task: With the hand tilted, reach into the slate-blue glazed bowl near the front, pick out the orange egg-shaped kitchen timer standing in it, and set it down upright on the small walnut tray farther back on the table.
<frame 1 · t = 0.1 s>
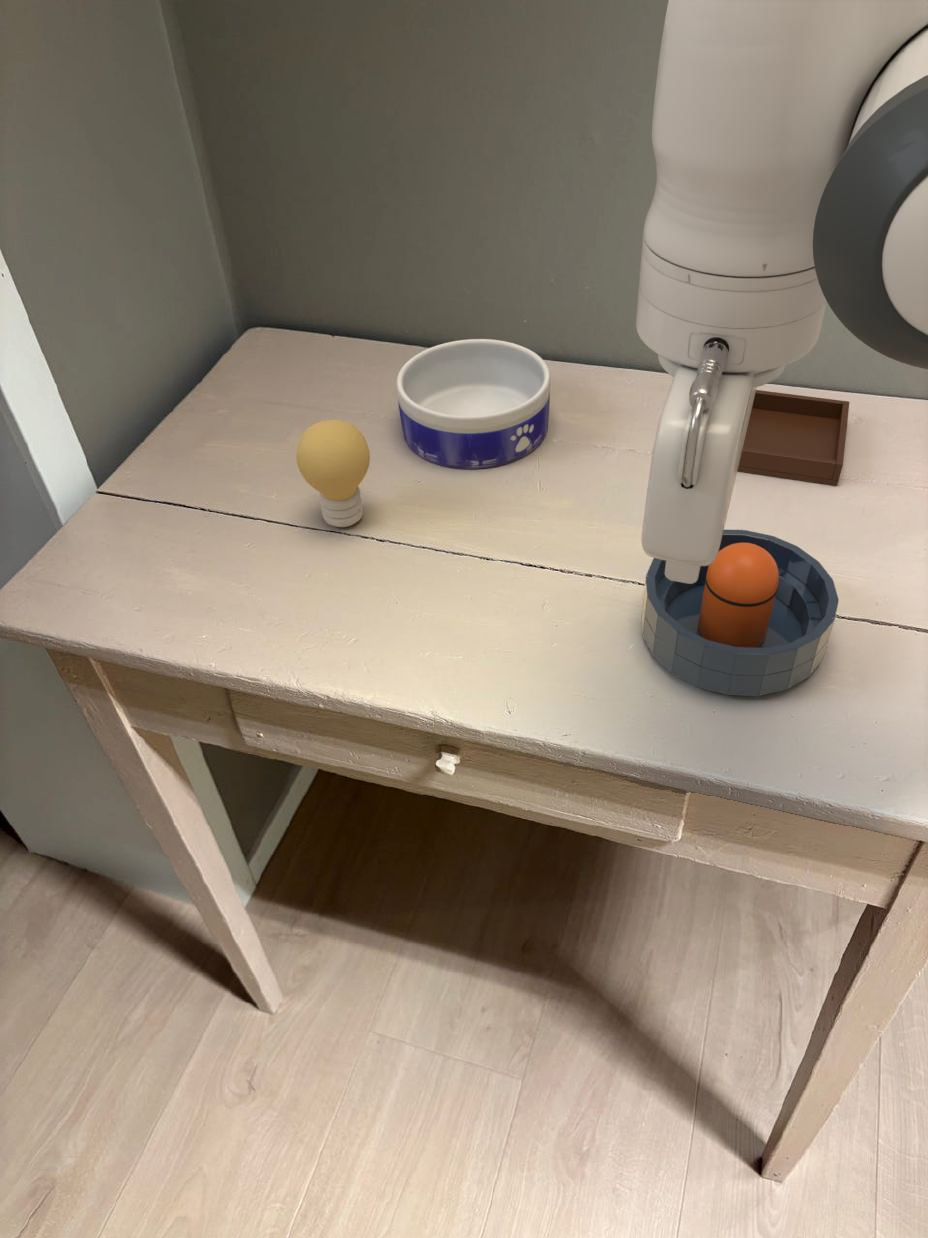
hand: (696, 522, 56), 19 cm above the table, tool pointing down, fingers open, 8 cm apart
tray: (781, 444, 94), on the table
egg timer: (731, 628, 75), point 1 cm above the table, touching glazed bowl
light bulb: (344, 520, 89), on the table
glazed bowl: (730, 634, 76), on the table
dog bowl: (475, 429, 99), on the table
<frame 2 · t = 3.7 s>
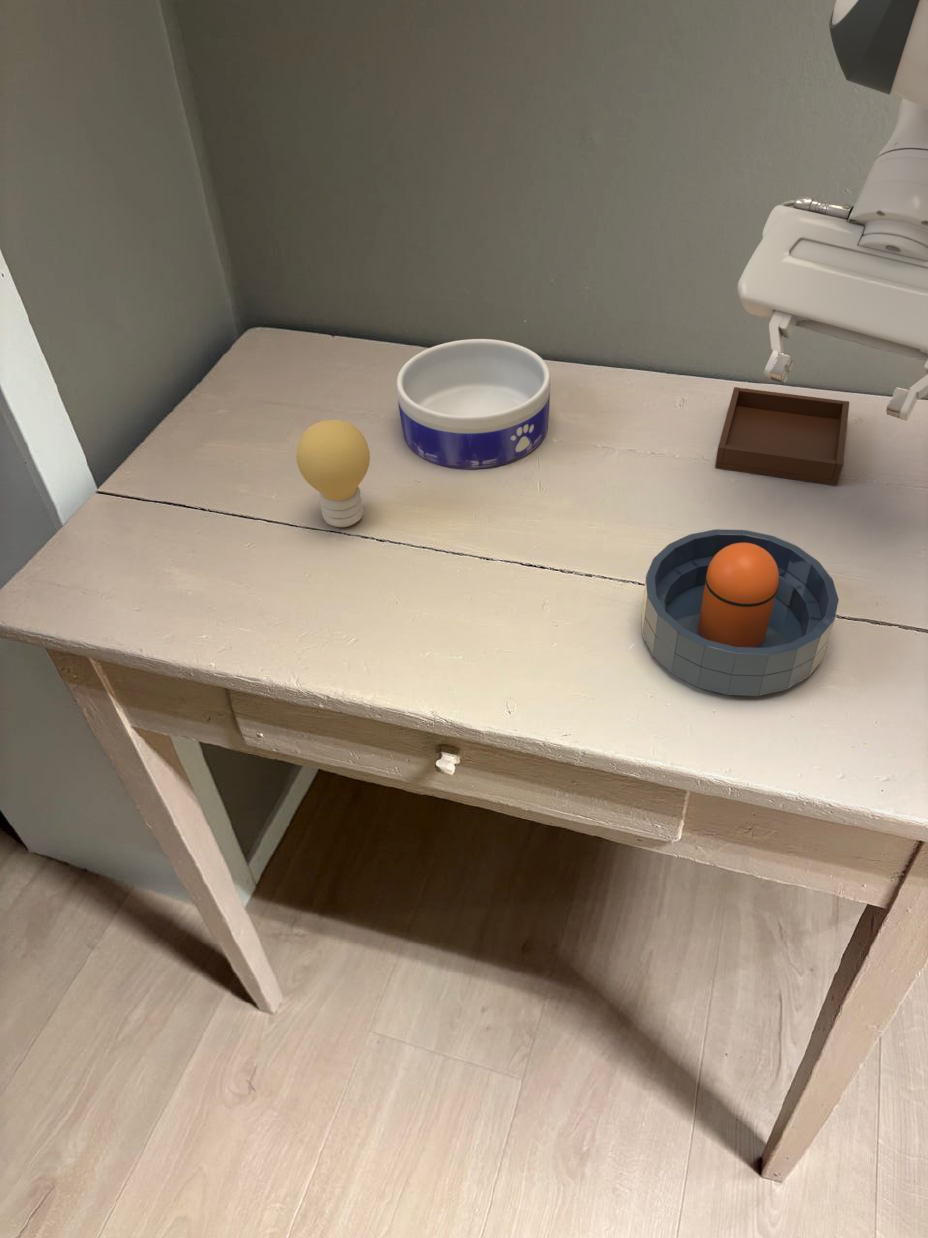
hand: (833, 396, 72), 15 cm above the table, tool tilted 45°, fingers open, 8 cm apart
nothing on the table moved.
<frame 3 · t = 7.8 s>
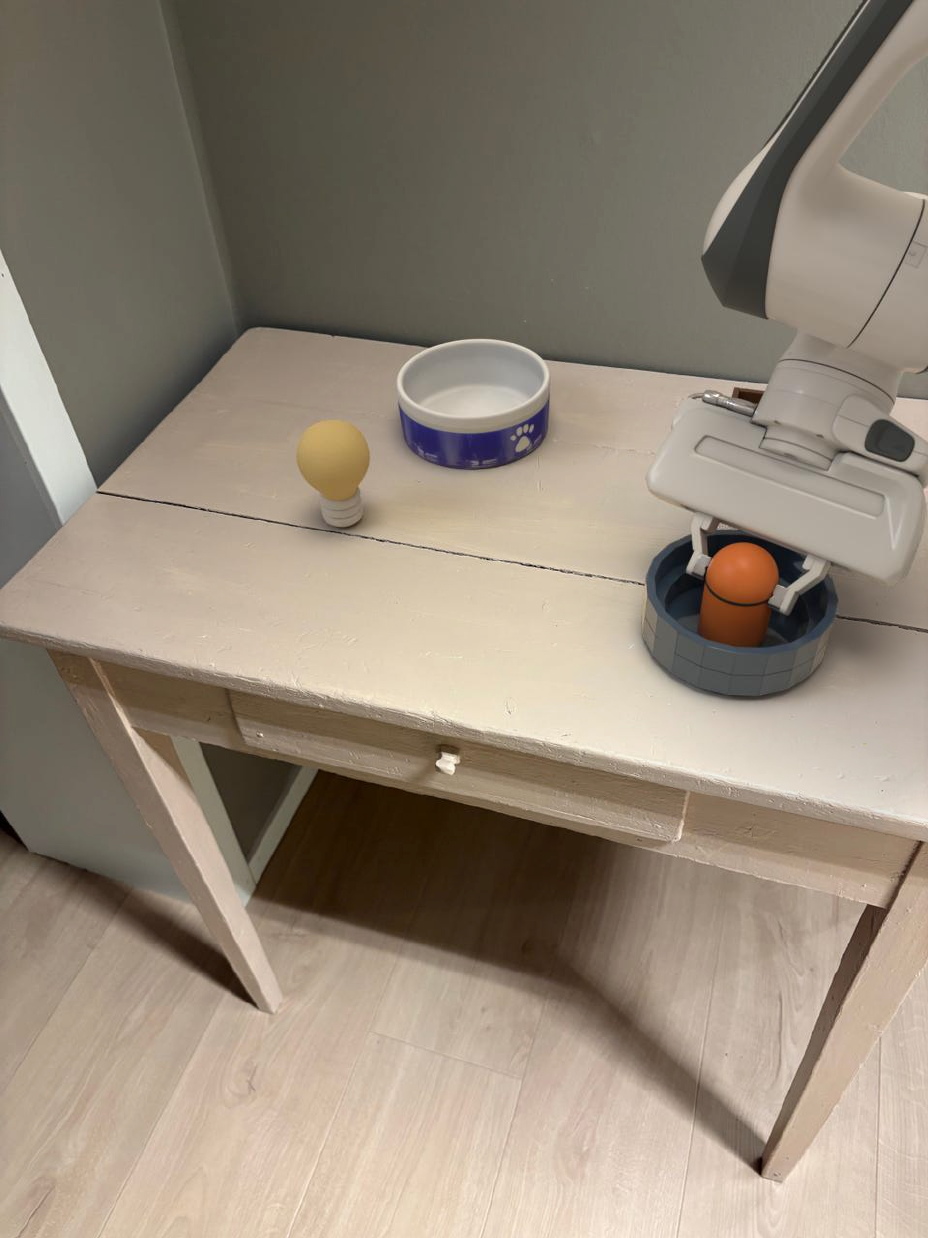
hand: (736, 594, 72), 5 cm above the table, tool tilted 45°, fingers closed on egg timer, 5 cm apart
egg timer: (731, 628, 75), point 1 cm above the table, touching glazed bowl, gripper
everything else where it was.
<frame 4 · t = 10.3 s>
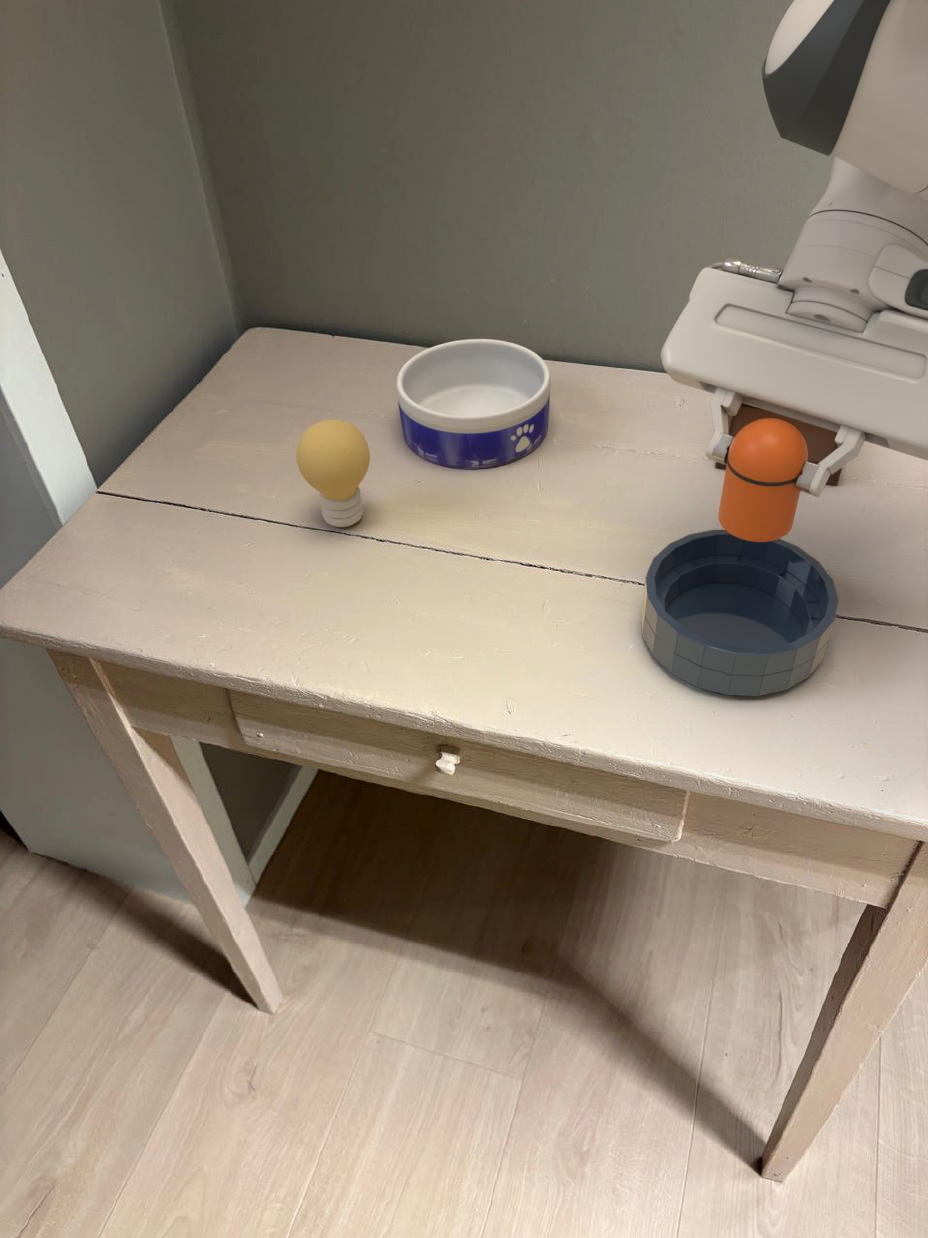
hand: (761, 476, 66), 15 cm above the table, tool tilted 45°, fingers closed on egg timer, 5 cm apart
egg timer: (755, 519, 69), point 11 cm above the table, touching gripper
everything else where it was.
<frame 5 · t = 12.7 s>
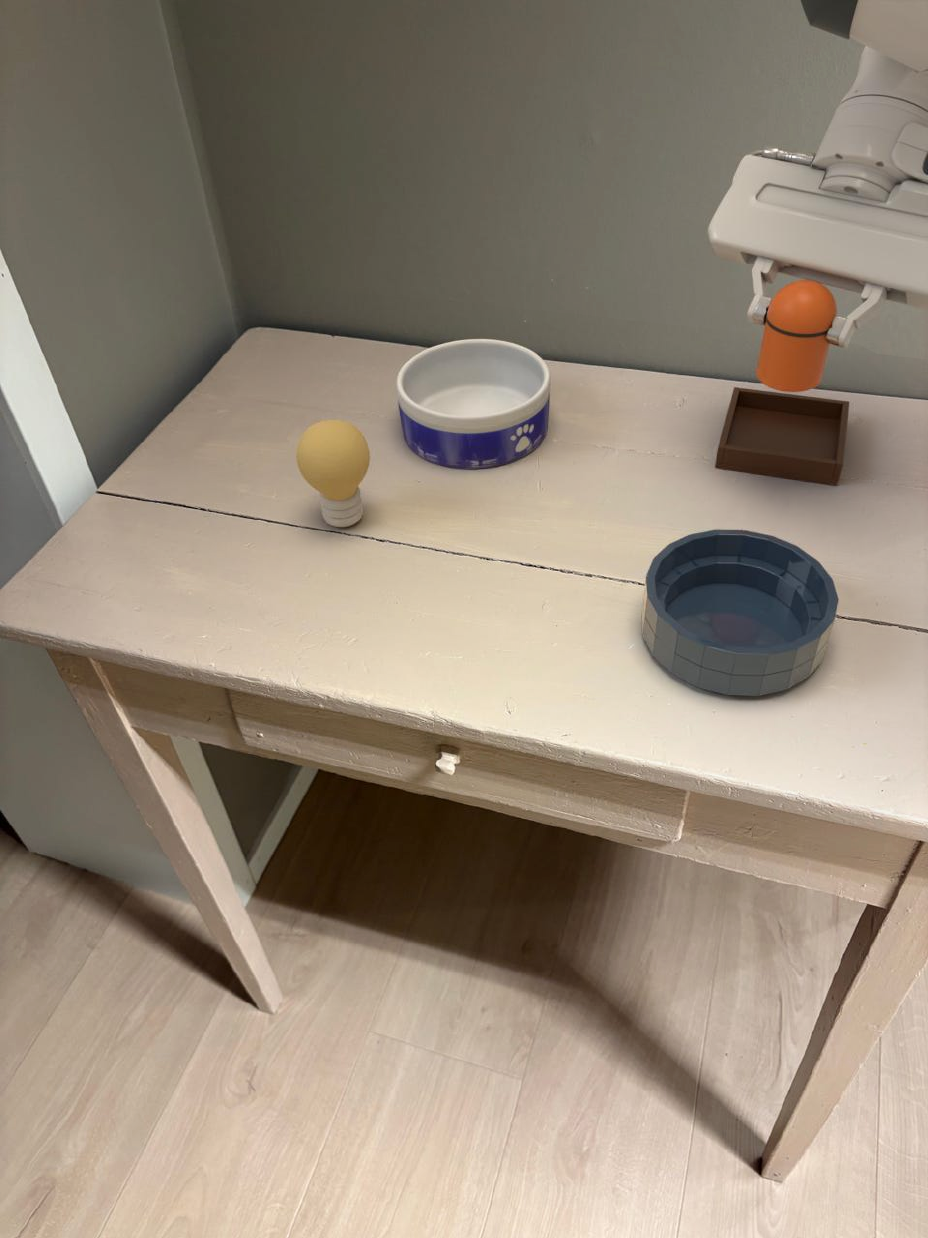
hand: (795, 332, 76), 17 cm above the table, tool tilted 45°, fingers closed on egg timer, 5 cm apart
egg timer: (788, 375, 79), point 13 cm above the table, touching gripper
everything else where it was.
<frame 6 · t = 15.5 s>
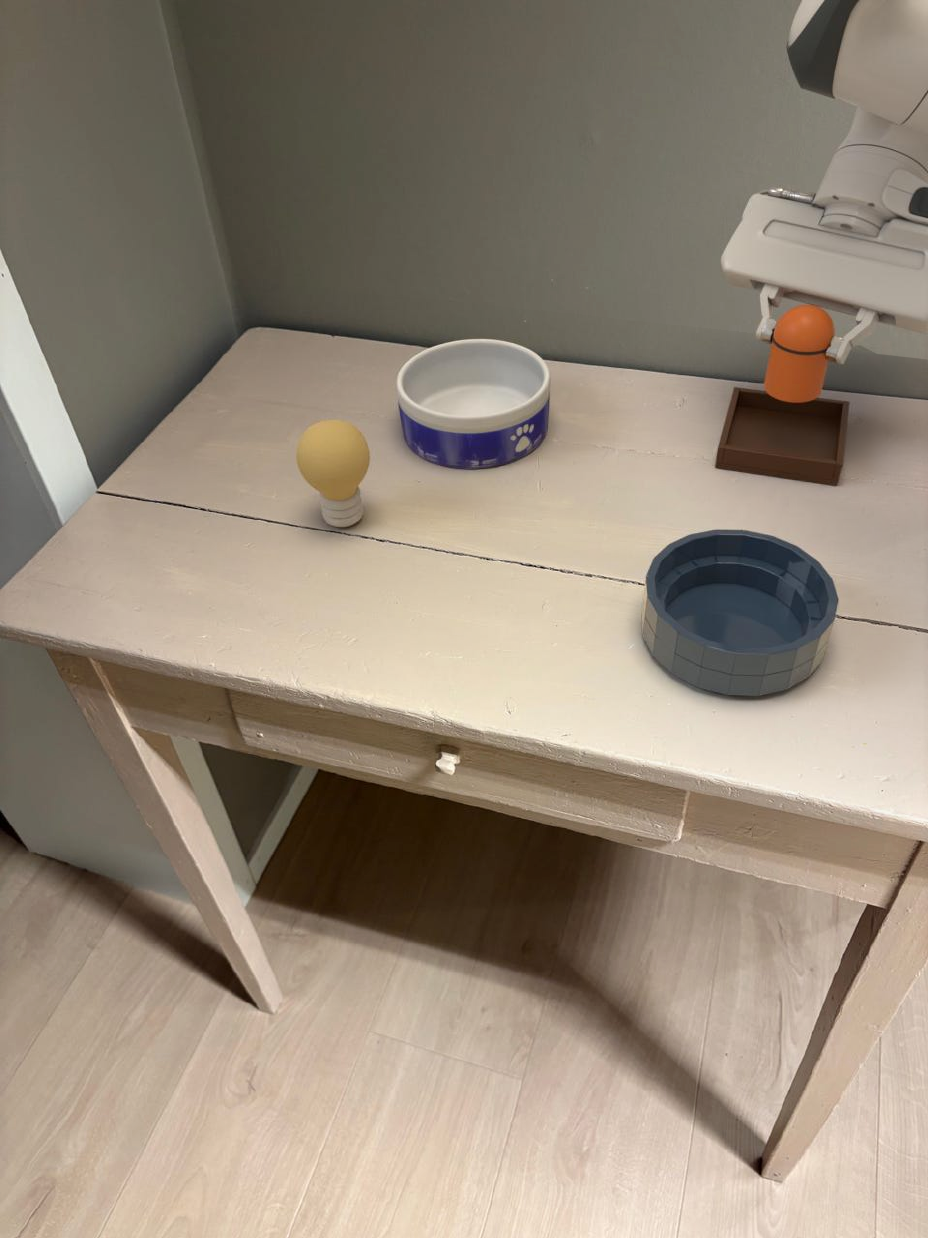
hand: (798, 350, 87), 10 cm above the table, tool tilted 45°, fingers closed on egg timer, 5 cm apart
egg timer: (792, 388, 90), point 6 cm above the table, touching gripper
everything else where it was.
when the fingers open (5 cm above the table, at t = 17.6 s): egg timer stays where it is, resting on tray.
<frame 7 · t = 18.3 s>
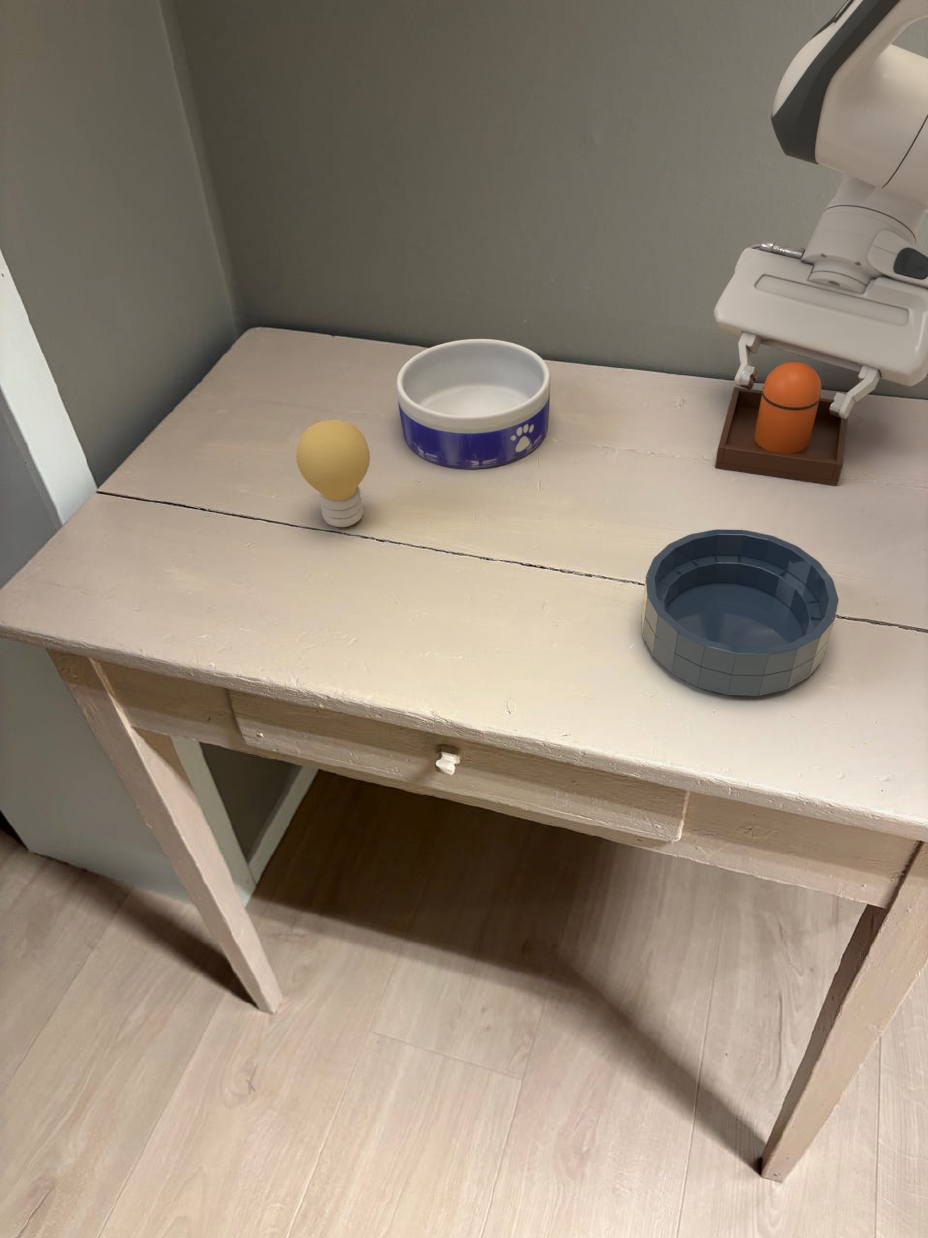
hand: (788, 400, 90), 5 cm above the table, tool tilted 45°, fingers open, 8 cm apart
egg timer: (781, 439, 94), point 1 cm above the table, touching tray
everything else where it was.
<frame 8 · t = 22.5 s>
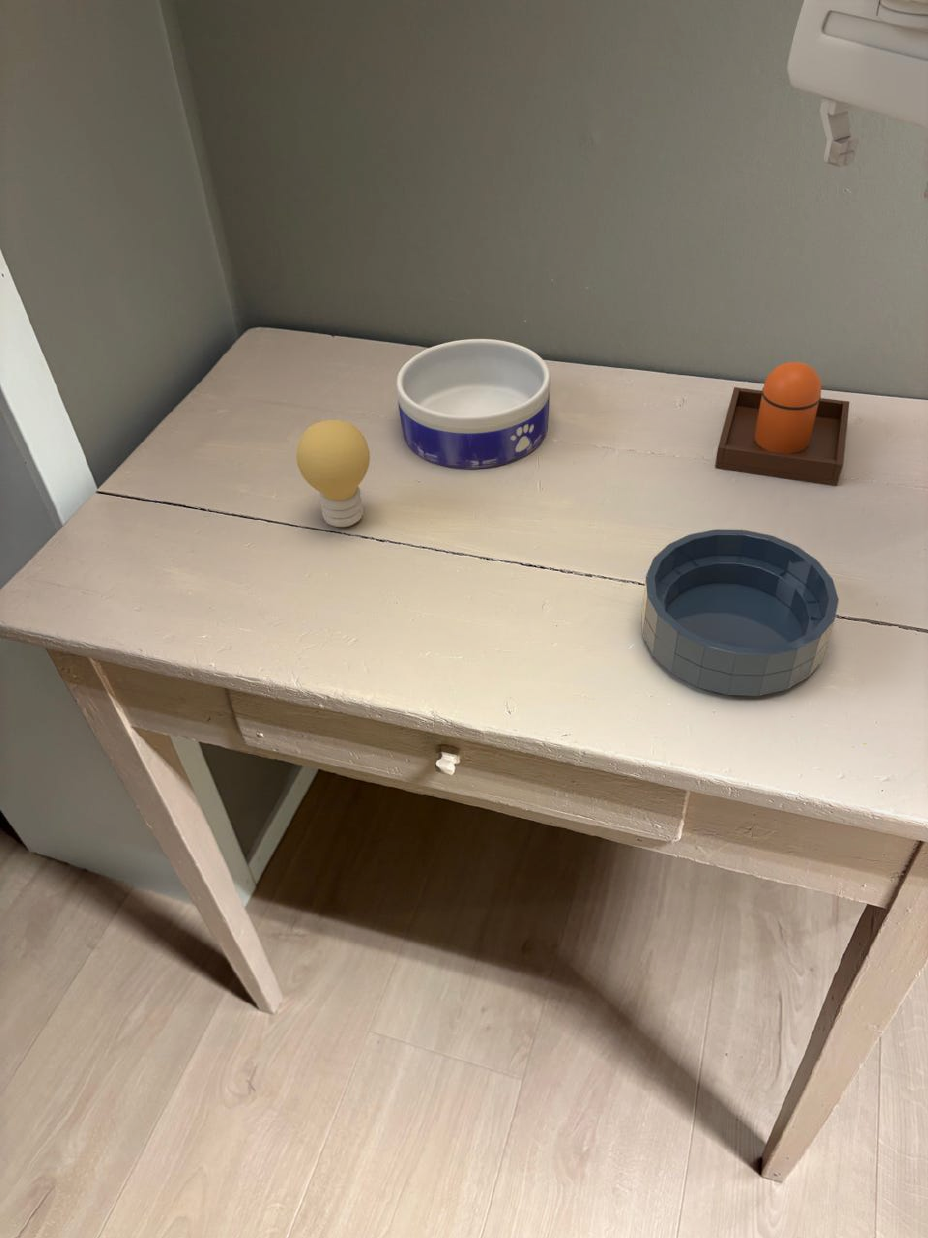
hand: (886, 181, 71), 27 cm above the table, tool pointing down, fingers open, 8 cm apart
nothing on the table moved.
at the end: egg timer inside the target area in the tray (0.1 cm from its centre), point 0.6 cm above the tray's base; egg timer tilted 0°; the gripper is holding nothing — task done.
